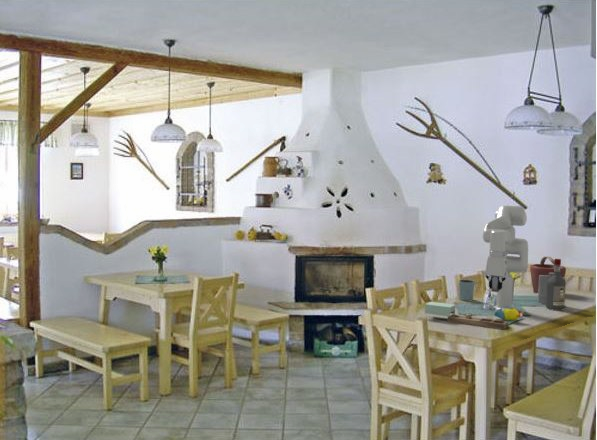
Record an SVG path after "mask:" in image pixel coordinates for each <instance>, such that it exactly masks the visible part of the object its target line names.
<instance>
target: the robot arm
mask: <svg viewBox="0 0 597 440" xmlns="http://www.w3.org/2000/svg"><path fill="white" fill-rule="evenodd" d="M527 220H528V218H527V213H526V210H525V208H524V207H523V206H520V205H502V206H500V207H499V208H498V210H497V211H495V215H494V219H492V220H490V221H488V223H486V224H485V226H484V229H483V232H482V239H483V242H484V243H487V244H489V256H487V260H486V265H485V266H486V267H485V270H484V271H483V273H482V276H483V277H485V278H486V280H487V281H488V288H489V290H491V285H492V276H499V280H500V281H499V285H498V290H499V292H496V304H495V306H494V305H493V309H494V310H495V309H496V308H505V307H512V308H514V309H516V306H514V295H515V294H514V291H515V289H514V288H515V278H514V276H513V275H512V274H511V273H515V274H524V273H526V272H527V271H528V267H529V242H528V240H527V239H525V238H519V237H517V238H516V228H515V227H514V226H517V227H522V226H525V225H526V223H527ZM513 255H514V256H513ZM515 255H518V256H515Z"/></svg>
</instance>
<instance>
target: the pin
mask: <svg viewBox="0 0 597 440" xmlns="http://www.w3.org/2000/svg"><path fill="white" fill-rule="evenodd" d="M499 281H500V280H499V276H492V285H491V289H490V290H491V291H490V292H494V293H497V292H499V290H498V285H499Z"/></svg>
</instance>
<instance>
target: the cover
mask: <svg viewBox="0 0 597 440" xmlns="http://www.w3.org/2000/svg"><path fill="white" fill-rule="evenodd" d="M424 314H427V315H428V314H429V315H437V316H442V317H448V316H449V317H450V315H452V314H456V304H451V303H445V302H438V301H437V302H435V301H429V302H427V303H425V304H424Z"/></svg>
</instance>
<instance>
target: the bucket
mask: <svg viewBox="0 0 597 440" xmlns="http://www.w3.org/2000/svg"><path fill="white" fill-rule="evenodd" d="M547 259H548V261H550V262H551V264H548V263H547V264H545V263H546V260H547ZM554 261H555V258H553V257H552V256H543V257H541V259H540V262H539V263H535V264H534V263H533V264H530V266H529V268H530V269H529V270H530V277H531V278H530V279H531V284H532V290H533V293H534V294H537V293H538V290H539V275H550V274H549V273H554V266H555V264H554ZM566 270H567V268H566V266H564V265H560V274H561V277H562V278H566V277H565V276H566V273H567V272H566Z"/></svg>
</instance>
